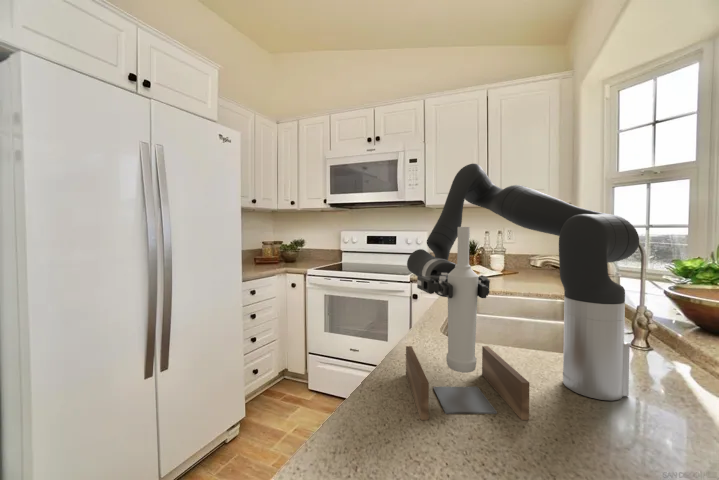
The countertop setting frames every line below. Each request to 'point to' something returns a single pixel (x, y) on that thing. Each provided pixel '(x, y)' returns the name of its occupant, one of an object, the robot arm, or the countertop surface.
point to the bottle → (462, 309)
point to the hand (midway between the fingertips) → (467, 292)
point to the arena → (471, 388)
